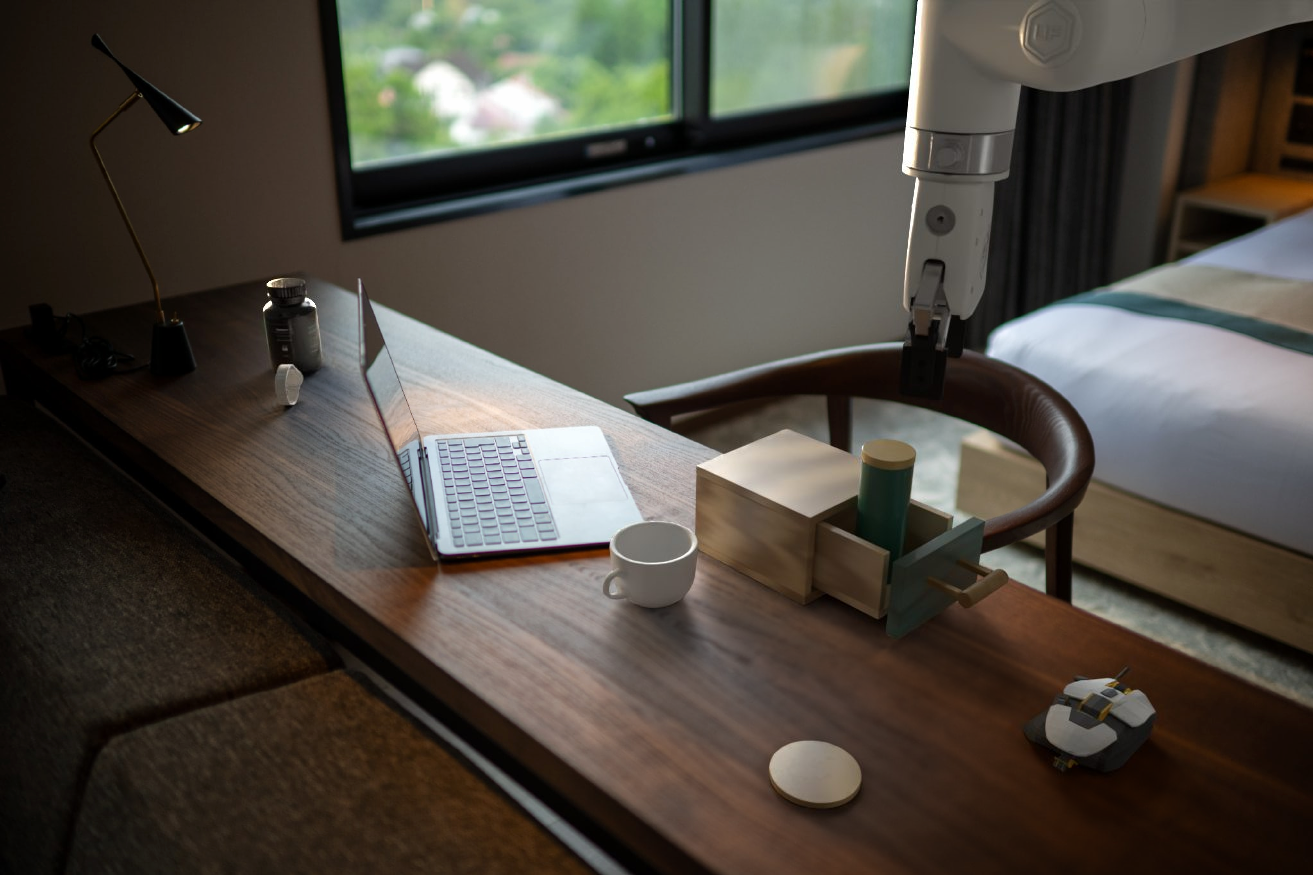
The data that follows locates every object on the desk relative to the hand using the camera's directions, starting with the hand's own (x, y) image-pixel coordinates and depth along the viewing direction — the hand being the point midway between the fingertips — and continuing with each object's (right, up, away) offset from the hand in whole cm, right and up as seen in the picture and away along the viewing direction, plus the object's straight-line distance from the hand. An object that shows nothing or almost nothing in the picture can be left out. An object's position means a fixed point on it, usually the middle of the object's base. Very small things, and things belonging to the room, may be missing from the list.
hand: (931, 375), depth 86 cm
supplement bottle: (-70, +4, +64) cm, 95 cm away
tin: (-2, -17, +12) cm, 21 cm away
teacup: (-22, -19, +12) cm, 32 cm away
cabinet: (-8, -16, +19) cm, 26 cm away
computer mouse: (+11, -27, -4) cm, 29 cm away
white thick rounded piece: (-68, -1, +53) cm, 86 cm away
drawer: (0, -19, +11) cm, 22 cm away
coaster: (-10, -29, -9) cm, 32 cm away
